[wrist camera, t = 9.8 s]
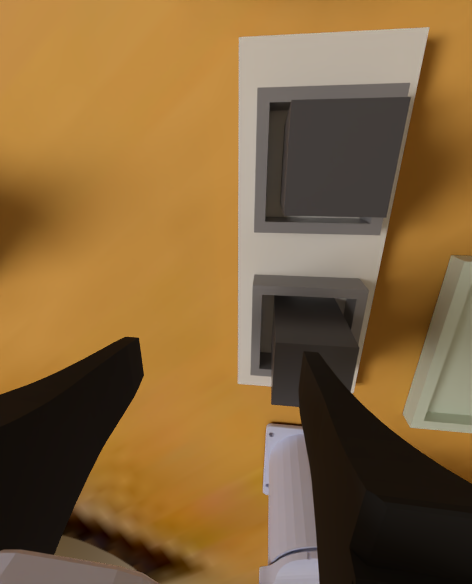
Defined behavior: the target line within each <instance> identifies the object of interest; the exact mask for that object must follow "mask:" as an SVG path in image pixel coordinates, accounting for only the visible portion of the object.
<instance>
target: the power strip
mask: <svg viewBox="0 0 472 584" xmlns="http://www.w3.org/2000/svg"><path fill="white" fill-rule="evenodd" d="M428 32H429V27H426V28H406V29H387V30H368V31H349V32H329V33H310V34H291V35H271V36H252V37H239V190H238V384H247V385H259V386H271V404H272V405H283V406H295V407H299V392H298V389H299V381H300V373H301V366H302V358H303V351H309V352H318V353H319V354H320V355H321V356H322V357H323V359H324V360H325V362H326V363H327V364H328V365H329V367H330V368H331V369H332V371H333V372H334V373H335V374H336V376H337V377H338V378H339V379H340V381H341V382H342V383H343V384H344V385H345V386H346V388H347V389H348V390H349V391H350V392H351V393H354V388H355V383H356V378H357V374H358V369H359V364H360V359H361V354H362V350H363V345H364V340H365V335H366V330H367V326H368V321H369V316H370V311H371V306H372V301H373V297H374V292H375V287H376V282H377V277H378V273H379V268H380V263H381V258H382V253H383V249H384V244H385V239H386V234H387V229H388V224H389V220H390V215H391V210H392V205H393V200H394V196H395V191H396V186H397V181H398V176H399V172H400V167H401V162H402V157H403V152H404V147H405V143H406V138H407V133H408V128H409V123H410V119H411V114H412V109H413V104H414V99H415V95H416V90H417V85H418V80H419V75H420V70H421V66H422V61H423V56H424V51H425V46H426V42H427V37H428ZM383 97H411V100H410V105H409V109H408V114H407V119H406V124H405V129H404V134H403V139H402V144H401V149H400V153H399V158H398V163H397V168H396V173H395V178H394V183H393V188H392V193H391V197H390V202H389V207H388V212H387V217H386V218H378V217H321V216H284V215H283V211H282V208H281V204H280V192H281V175H282V158H283V141H284V125H285V122H286V118H287V114H288V110H289V107H290V103H291V100H305V99H344V98H383Z"/></svg>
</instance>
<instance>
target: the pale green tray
mask: <svg viewBox="0 0 472 584" xmlns="http://www.w3.org/2000/svg"><path fill="white" fill-rule="evenodd" d="M403 415H404V417H405V419H406V421H407V423H408V424H409V426H410V428H420V429H431V430H442V431H453V432H464V433H472V256H461V255H451V258H450V261H449V264H448V267H447V271H446V274H445V277H444V280H443V284H442V287H441V290H440V293H439V297H438V300H437V303H436V307H435V310H434V313H433V316H432V320H431V323H430V326H429V329H428V333H427V336H426V339H425V342H424V346H423V349H422V352H421V356H420V359H419V362H418V365H417V369H416V372H415V375H414V378H413V382H412V385H411V388H410V391H409V395H408V398H407V401H406V405H405V408H404V411H403Z"/></svg>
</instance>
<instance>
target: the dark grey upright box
mask: <svg viewBox="0 0 472 584" xmlns="http://www.w3.org/2000/svg"><path fill="white" fill-rule="evenodd" d="M410 100H411V97H383V98H344V99H305V100H291V103H290V107H289V110H288V114H287V118H286V122H285V125H284V141H283V158H282V175H281V192H280V204H281V208H282V211H283V215H284V216H321V217H378V218H386V217H387V212H388V207H389V202H390V197H391V193H392V188H393V183H394V178H395V173H396V168H397V163H398V158H399V153H400V149H401V144H402V139H403V134H404V129H405V124H406V119H407V114H408V109H409V105H410Z"/></svg>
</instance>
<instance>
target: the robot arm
mask: <svg viewBox="0 0 472 584" xmlns="http://www.w3.org/2000/svg"><path fill="white" fill-rule="evenodd" d="M143 376H144V372H143V365H142V358H141V350H140V343H139V338H134V337H124V338H122V339H120V340H118V341H116V342H114V343H112V344H110V345H108V346H107V347H105V348H103V349H101V350H99V351H97V352H96V353H94V354H92V355H90V356H88V357H86V358H85V359H83V360H81V361H79V362H77V363H75V364H73V365H71V366H69V367H67V368H65V369H63V370H61V371H59V372H57V373H55V374H52V375H50V376H48V377H46V378H43V379H41V380H38V381H36V382H34V383H31V384H29V385H26V386H23V387H21V388H18V389H15V390H12V391H9V392H6V393H4V394H1V395H0V584H159V583H157V582H156V581H154V580H153V579H151V578H150V577H148V576H147V575H145V574H144V573H141V572H137V571H134V570H131V569H128V568H125V567H121V566H116V565H109V564H103V563H98V562H92V561H85V560H80V559H74V558H68V557H63V556H57V555H54V553H55V551H56V548H57V546H58V544H59V541H60V538H61V536H62V534H63V531H64V529H65V527H66V524H67V522H68V520H69V518H70V515H71V513H72V511H73V508H74V506H75V504H76V501H77V499H78V497H79V495H80V493H81V491H82V489H83V487H84V484H85V482H86V480H87V478H88V476H89V474H90V472H91V470H92V468H93V466H94V464H95V462H96V460H97V458H98V456H99V454H100V452H101V450H102V448H103V446H104V445H105V443H106V441H107V440H108V438H109V436H110V435H111V433H112V432H113V430H114V428H115V427H116V425H117V424H118V422H119V420H120V419H121V417H122V416H123V414H124V413H125V411H126V409H127V408H128V406H129V404H130V403H131V401H132V399H133V398H134V396H135V394H136V392H137V390H138V388H139V386H140V383H141V381H142V378H143ZM298 392H299V408H300V416H301V422H302V426H294V425H284V424H273V423H270V424H268V425H267V427H266V442H265V459H264V477H263V493H264V494H266V495H269V515H268V566H262V567H260V568H259V584H472V484H471V483H469V482H468V481H466V480H464V479H463V478H461V477H459V476H457V475H456V474H454V473H452V472H451V471H449V470H447V469H446V468H444V467H443V466H441V465H439V464H438V463H436V462H435V461H433V460H432V459H430V458H429V457H427V456H426V455H424V454H423V453H421V452H420V451H419V450H417V449H416V448H414V447H413V446H412V445H410V444H409V443H407V442H406V441H405V440H403V439H402V438H401V437H400V436H398V435H397V434H396V433H394V432H393V431H392V430H391V429H389V428H388V427H387V426H386V425H385V424H383V423H382V422H381V421H380V420H379V419H378V418H376V417H375V416H374V415H373V414H372V413H371V412H370V411H369V410H368V409H367V408H365V407H364V406H363V405H362V404H361V403H360V402H359V401H358V400H357V399H356V397H355V396H354V395H353V394H352V393H351V392H350V391H349V390H348V389H347V388H346V386H345V385H344V384H343V383H342V382H341V381H340V379H339V378H338V377H337V376H336V374H335V373H334V372H333V371H332V369H331V368H330V367H329V365H328V364H327V363H326V362H325V360H324V359H323V357H322V356H321V355H320V354H319V353H318V352H309V351H303V358H302V366H301V373H300V381H299V389H298Z"/></svg>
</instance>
